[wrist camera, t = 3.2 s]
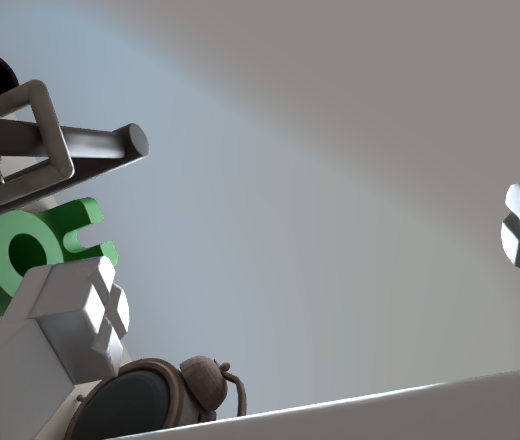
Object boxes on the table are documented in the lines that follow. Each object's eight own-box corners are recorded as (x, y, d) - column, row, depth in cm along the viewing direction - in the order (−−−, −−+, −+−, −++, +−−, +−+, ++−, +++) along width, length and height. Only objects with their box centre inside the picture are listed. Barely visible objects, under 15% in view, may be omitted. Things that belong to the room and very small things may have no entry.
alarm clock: (72, 367, 54) (231, 324, 48) (110, 399, 58) (260, 364, 52) (17, 509, 42) (217, 475, 37) (69, 537, 46) (255, 510, 41)
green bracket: (-46, 336, 42) (10, 318, 40) (-86, 240, 41) (-30, 218, 39) (78, 279, 59) (121, 265, 57) (51, 211, 58) (94, 194, 56)
